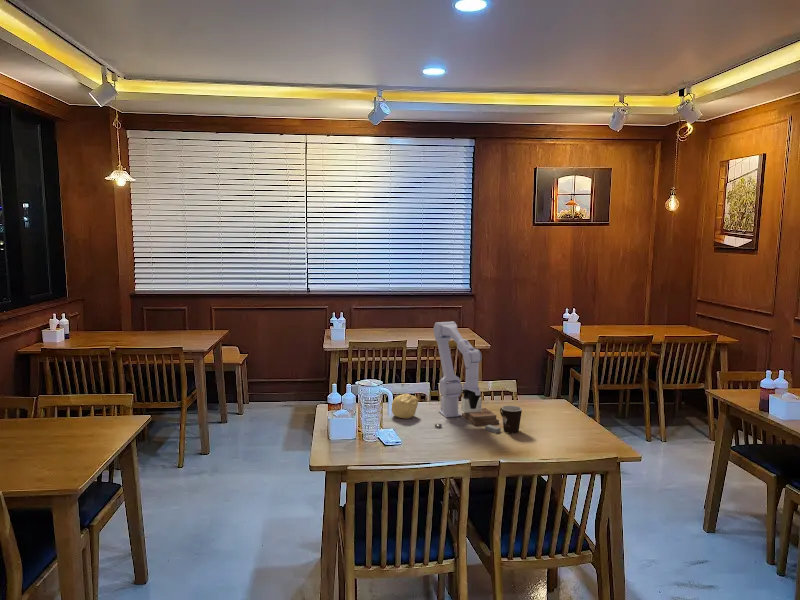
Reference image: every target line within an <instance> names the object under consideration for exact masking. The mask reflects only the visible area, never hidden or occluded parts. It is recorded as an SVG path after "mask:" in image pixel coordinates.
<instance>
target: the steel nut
mask: <svg viewBox="0 0 800 600" xmlns="http://www.w3.org/2000/svg"><path fill="white" fill-rule="evenodd" d="M442 425H443V424H441V423H435V424H434V428H435V429H442Z"/></svg>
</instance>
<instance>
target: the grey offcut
mask: <svg viewBox="0 0 800 600" xmlns="http://www.w3.org/2000/svg"><path fill="white" fill-rule="evenodd" d="M501 430H502V429H501V427H499V426H496V425H493V424H488V425H484V431H488V432H491V433H494V434H499V433H501Z"/></svg>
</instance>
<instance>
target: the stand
mask: <svg viewBox="0 0 800 600" xmlns="http://www.w3.org/2000/svg"><path fill="white" fill-rule="evenodd" d="M461 418H463V419H465V420H466V421H467V422H469V423H470V424H471V425H473V426H474V427H476V426H477V427H478V426H487V425H496V424H498V425H499V424H500V420H499V419H498V418H497V414H495V413H494V412H492V411H491V410H489V409H488V408H486V407H485V408H484V407H483V408H482V407H481V411H479V412H467V413H464V412H462V413H461Z"/></svg>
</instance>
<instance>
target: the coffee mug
mask: <svg viewBox="0 0 800 600" xmlns="http://www.w3.org/2000/svg"><path fill="white" fill-rule="evenodd" d="M522 410H523V409H522V407H520V406H516V405H504V406H502V407H500V409H499V413H500V415H501V417H502V426H503V427H502V429H503V432H504V433H507V434H518V433H519V429H520V426H521V418H522V412H523V411H522Z"/></svg>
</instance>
